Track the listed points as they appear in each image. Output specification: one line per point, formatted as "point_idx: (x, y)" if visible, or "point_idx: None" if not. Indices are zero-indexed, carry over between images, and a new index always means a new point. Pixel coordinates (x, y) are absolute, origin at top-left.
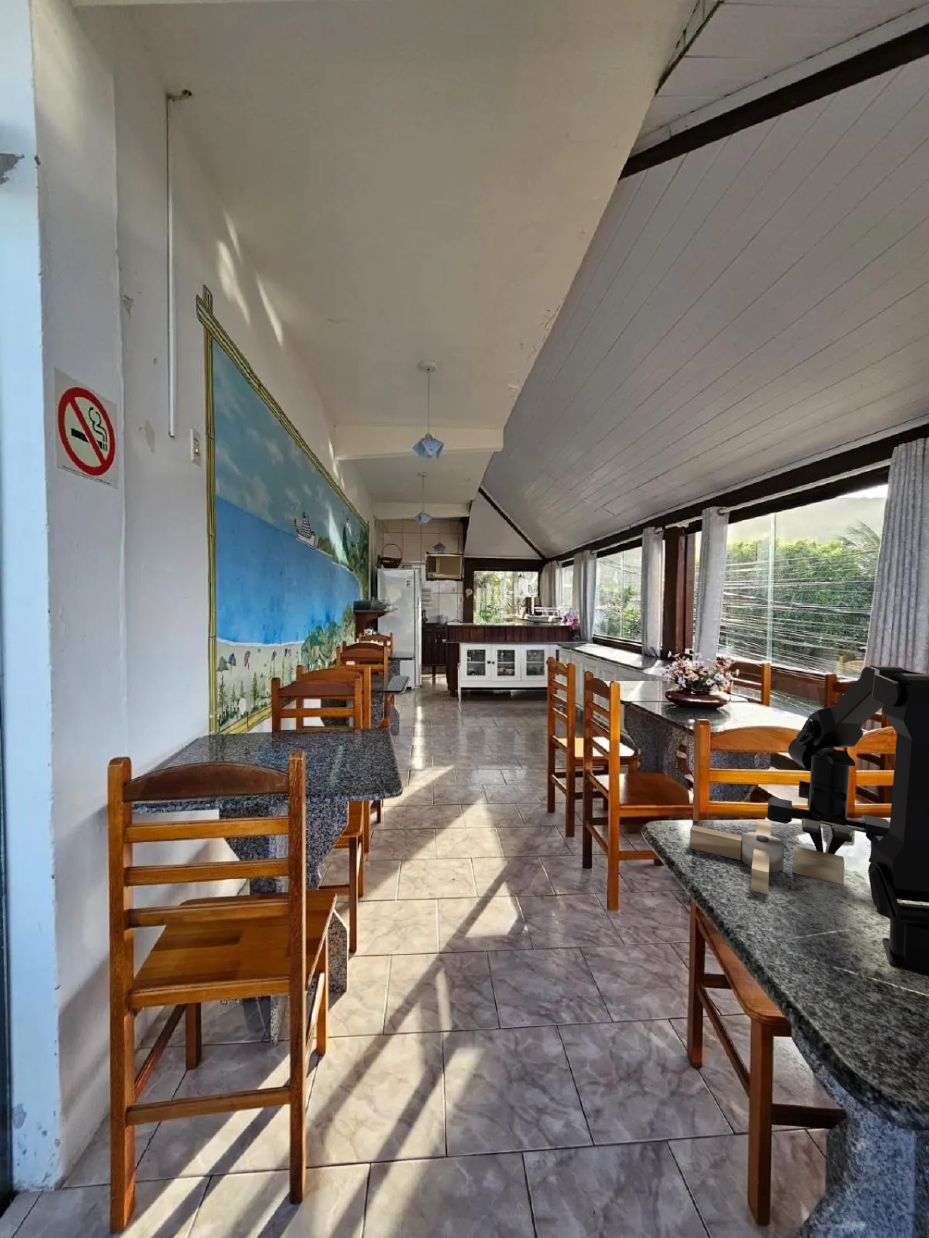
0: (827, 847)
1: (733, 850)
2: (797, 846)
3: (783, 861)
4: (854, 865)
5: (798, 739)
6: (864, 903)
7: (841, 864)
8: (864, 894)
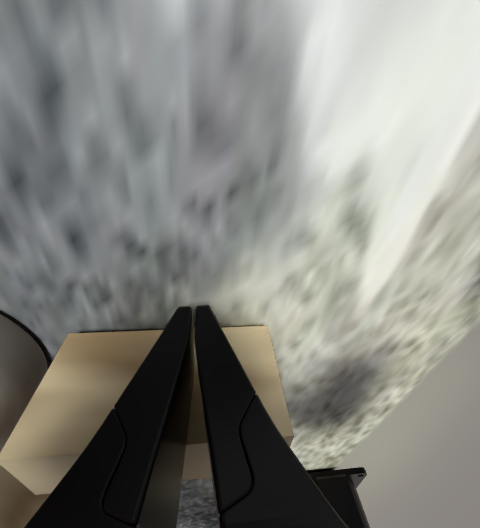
0: (208, 447)
1: None
2: (22, 457)
3: (23, 389)
4: (400, 48)
5: None
6: (298, 397)
7: None
8: (316, 358)
